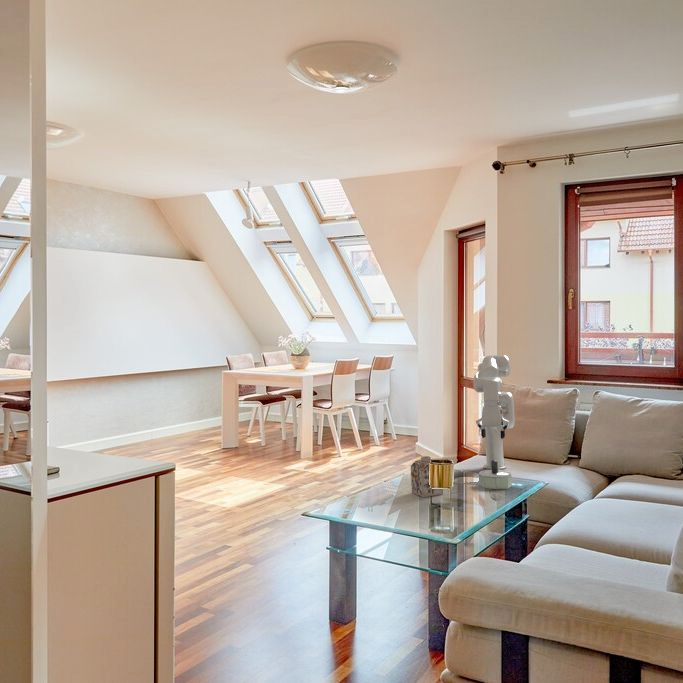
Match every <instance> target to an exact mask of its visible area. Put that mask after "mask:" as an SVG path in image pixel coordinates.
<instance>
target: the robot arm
mask: <svg viewBox="0 0 683 683" xmlns="http://www.w3.org/2000/svg"><path fill="white" fill-rule="evenodd" d="M510 373H511V362H510V359H509V357H508V356H507V355H504V354H503V355H502V354H497V355H487V356H485V357H484V358H483V359H482V361H481V363H479V364H478V365H477V372H476V373H474V376H473V390H474V391H475V392H476V393H480V394H481V393H483V406H482V409H481V418H478V419H477V420H475V424H476V425H477V428H479V429H480V433H481V434H480V436H481V437H482V439H484V438H485V440H484V441H485V442H484V443H485V455H486V456H485V457H486V458H485V459H486V460H485V461H486V464H484V465H483V468H484V469H485V470H491V460H497V461H498V470H506V469H507V467H508V466H507V464H504V462H505V458H504V445H503V444H504V442H503V439H505V436H506V431H505V430H507V429H513V428H514V427H515V424H516V421H515V418H516V417H515V402H514V396H513V393H511V392H510V391H509V392H508V391H501V390H502V389H503V380H502V379H501V378H506V377H509V376H510ZM503 410H505V411H503ZM498 429H500V431H499V430H498Z"/></svg>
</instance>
